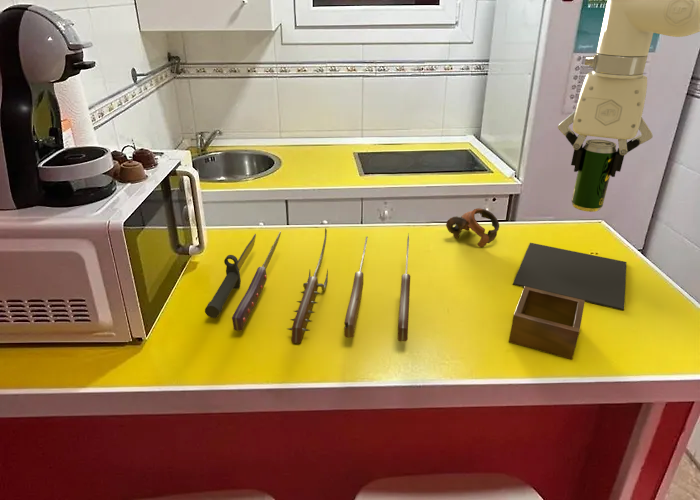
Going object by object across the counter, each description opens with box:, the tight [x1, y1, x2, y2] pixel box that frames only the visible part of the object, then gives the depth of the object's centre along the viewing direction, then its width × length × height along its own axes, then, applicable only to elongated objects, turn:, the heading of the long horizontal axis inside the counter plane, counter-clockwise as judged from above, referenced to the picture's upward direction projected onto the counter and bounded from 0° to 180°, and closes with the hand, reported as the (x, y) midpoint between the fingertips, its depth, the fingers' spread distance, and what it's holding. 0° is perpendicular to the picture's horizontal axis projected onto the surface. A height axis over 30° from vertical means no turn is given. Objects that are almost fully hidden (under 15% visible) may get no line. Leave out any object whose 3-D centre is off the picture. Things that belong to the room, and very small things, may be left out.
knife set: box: [204, 227, 411, 344], centre depth 98 cm, size 35×33×8 cm
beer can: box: [571, 138, 617, 213], centre depth 93 cm, size 5×5×12 cm
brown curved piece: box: [445, 207, 500, 248], centre depth 119 cm, size 12×10×8 cm
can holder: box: [508, 286, 586, 360], centre depth 87 cm, size 10×10×6 cm
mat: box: [512, 242, 627, 312], centre depth 107 cm, size 20×20×1 cm
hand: (594, 171), depth 93 cm, fingers closed on beer can, 5 cm apart
